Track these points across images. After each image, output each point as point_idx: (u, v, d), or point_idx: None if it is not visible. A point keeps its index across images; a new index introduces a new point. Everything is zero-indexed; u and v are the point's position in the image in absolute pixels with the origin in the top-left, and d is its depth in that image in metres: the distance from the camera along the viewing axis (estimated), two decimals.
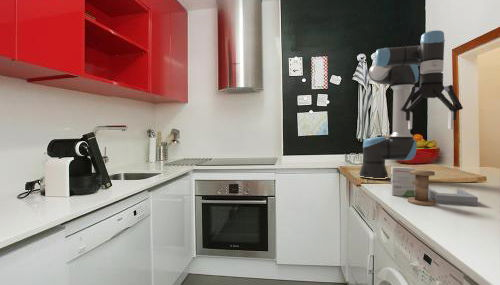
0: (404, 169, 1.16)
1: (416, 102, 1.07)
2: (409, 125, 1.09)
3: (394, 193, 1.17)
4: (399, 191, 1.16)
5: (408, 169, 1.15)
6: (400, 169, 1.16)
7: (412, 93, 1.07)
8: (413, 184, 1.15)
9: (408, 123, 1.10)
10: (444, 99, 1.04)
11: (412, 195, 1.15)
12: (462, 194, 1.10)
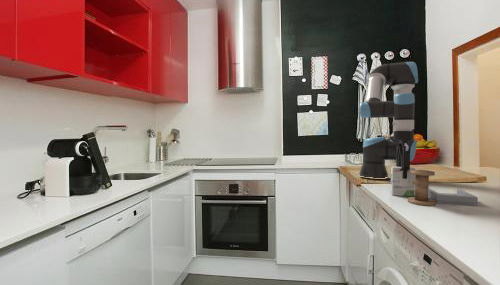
0: None
1: (398, 158, 1.21)
2: None
3: (394, 193, 1.17)
4: (399, 190, 1.16)
5: None
6: None
7: None
8: (413, 184, 1.15)
9: None
10: (401, 156, 1.16)
11: (412, 195, 1.15)
12: (462, 194, 1.10)
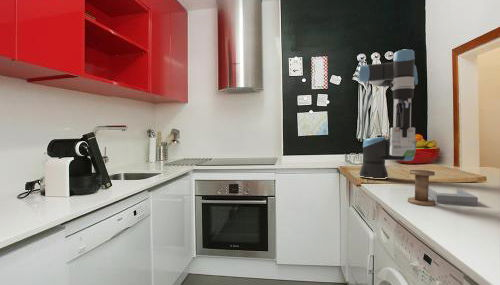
0: None
1: (397, 118, 1.17)
2: None
3: (393, 153, 1.14)
4: (399, 151, 1.13)
5: None
6: None
7: (396, 111, 1.20)
8: (413, 143, 1.11)
9: None
10: (400, 115, 1.12)
11: (412, 155, 1.12)
12: (462, 194, 1.10)
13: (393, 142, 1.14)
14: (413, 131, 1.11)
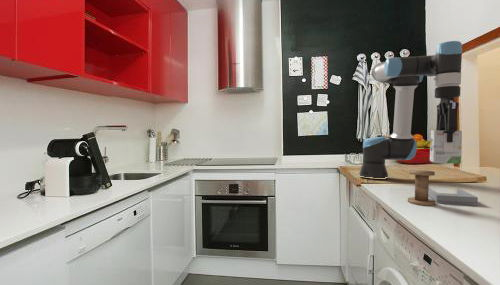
0: None
1: (439, 120, 1.03)
2: None
3: (436, 160, 1.00)
4: (442, 157, 0.99)
5: None
6: None
7: (437, 111, 1.06)
8: (459, 149, 0.98)
9: None
10: (444, 117, 0.98)
11: (458, 162, 0.98)
12: (462, 194, 1.10)
13: (435, 147, 1.00)
14: (459, 135, 0.97)
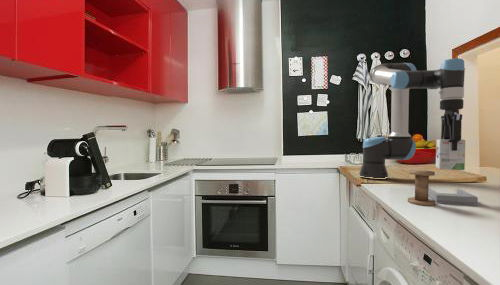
0: None
1: (444, 130, 1.13)
2: None
3: (442, 167, 1.09)
4: (447, 164, 1.08)
5: None
6: None
7: (442, 121, 1.15)
8: (463, 156, 1.07)
9: None
10: (449, 127, 1.08)
11: (462, 168, 1.07)
12: (462, 194, 1.10)
13: (441, 155, 1.09)
14: (463, 144, 1.06)
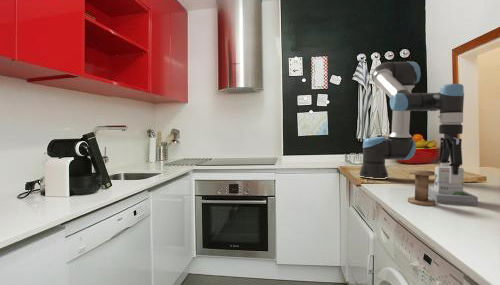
0: None
1: (442, 152, 1.14)
2: None
3: None
4: (446, 192, 1.09)
5: None
6: (448, 169, 1.09)
7: (440, 143, 1.16)
8: (461, 185, 1.08)
9: None
10: (449, 151, 1.07)
11: None
12: None
13: (440, 183, 1.10)
14: (461, 172, 1.08)
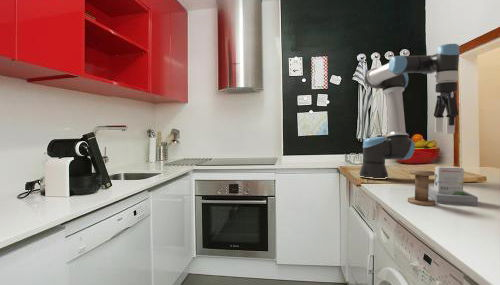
0: (452, 169, 1.09)
1: (437, 109, 1.23)
2: None
3: None
4: (446, 192, 1.09)
5: (456, 169, 1.08)
6: (448, 169, 1.09)
7: (437, 101, 1.24)
8: (461, 185, 1.08)
9: None
10: (445, 106, 1.14)
11: None
12: None
13: (440, 183, 1.10)
14: (461, 172, 1.08)
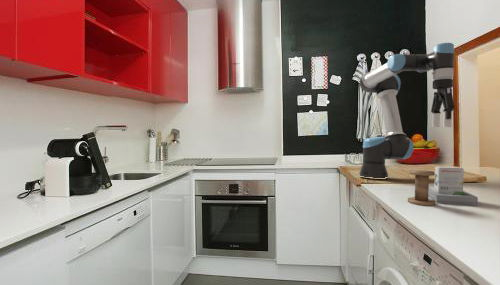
0: (451, 169, 1.09)
1: (434, 105, 1.29)
2: None
3: None
4: (446, 192, 1.09)
5: (456, 169, 1.08)
6: (448, 169, 1.09)
7: (434, 97, 1.30)
8: (461, 185, 1.08)
9: None
10: (442, 101, 1.20)
11: None
12: None
13: (440, 183, 1.10)
14: (461, 172, 1.08)
